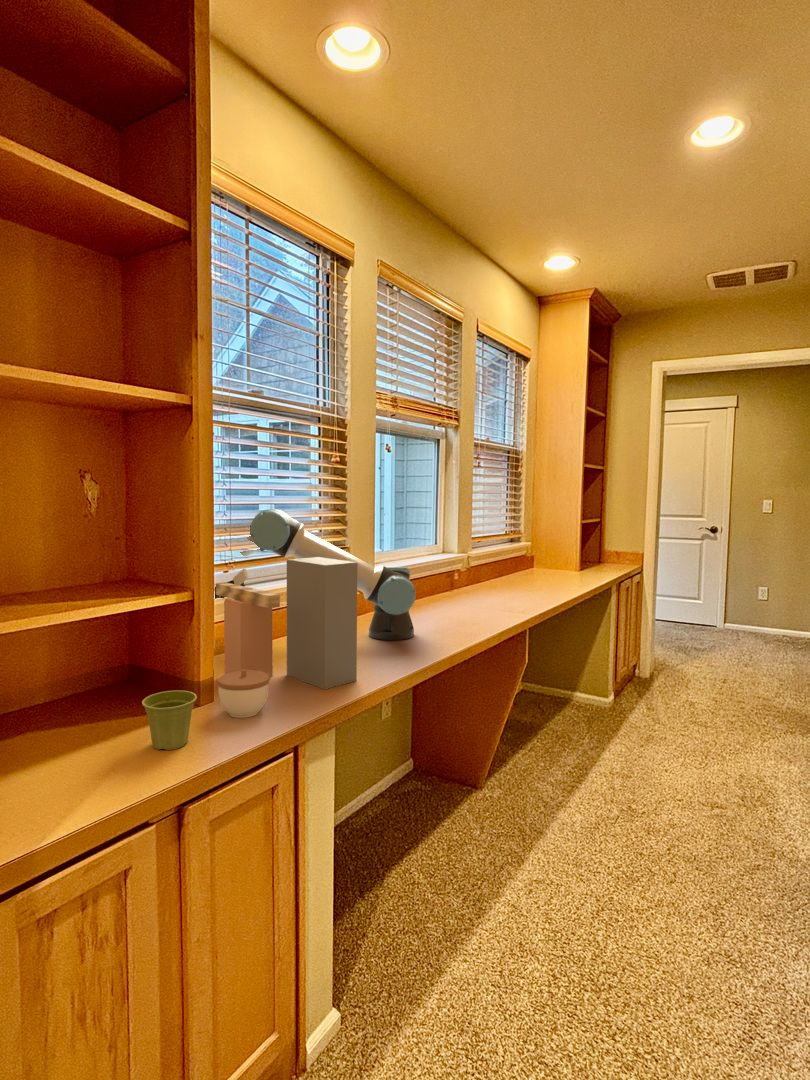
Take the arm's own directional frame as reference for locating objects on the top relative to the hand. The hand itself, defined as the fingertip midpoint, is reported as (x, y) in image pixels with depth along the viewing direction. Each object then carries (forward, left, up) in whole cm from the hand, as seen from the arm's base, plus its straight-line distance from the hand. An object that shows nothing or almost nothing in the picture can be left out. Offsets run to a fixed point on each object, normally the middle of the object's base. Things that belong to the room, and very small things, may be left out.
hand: (223, 575), depth 159 cm
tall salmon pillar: (-2, +12, -25) cm, 28 cm away
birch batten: (-2, +11, -5) cm, 12 cm away
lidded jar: (+8, +36, -25) cm, 44 cm away
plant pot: (+25, +44, -25) cm, 56 cm away
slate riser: (-17, +23, -25) cm, 38 cm away
